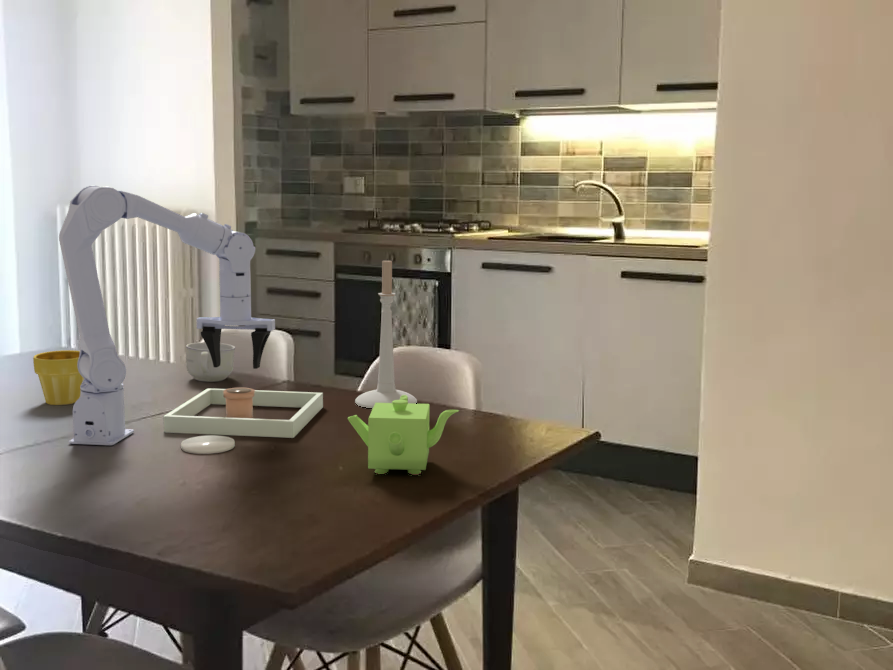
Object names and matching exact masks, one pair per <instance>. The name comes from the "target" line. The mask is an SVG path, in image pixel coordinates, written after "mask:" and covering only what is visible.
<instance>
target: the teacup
mask: <svg viewBox="0 0 893 670" xmlns="http://www.w3.org/2000/svg"><path fill="white" fill-rule="evenodd" d="M185 348H186V353H185V354H186V357H185V359H186V361H185V363H186V364H185V365H186V370H187V372H188V374H189V375H190V376H191V377H192V378H193V379H194V380H196V381H200V382H209V383H210V382H222V381H224V380H225V379H226V378H228V376H231V375H232V372H233V370H234V362H235V349H236V346H235V345H232V344H230V343H229V344H228V343H221V342H220V356H221V364H220V366H219V367H213V362H212V358H211V355H210V352H209V349H208V347H207V345H206V343H205V341H204V342H192V343H188V344H186V345H185Z"/></svg>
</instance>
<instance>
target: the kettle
mask: <svg viewBox="0 0 893 670" xmlns="http://www.w3.org/2000/svg"><path fill="white" fill-rule="evenodd" d="M459 411H460V410H459V409H446V410H444V411H442V412H441V413H440V414H439V417H438V418H437V422H436V423H435V425H434V426H433V428H431V429H430V404H429V403H417V404H412V403H408V396H407V395H402V396H401V397H400V400H394V401H392V403H375V405H374V407H373V409H371V412H370V414H369V416H368V418H367V419H368V420H367V421H368V424H366V422H364V421H363V420H362V419H361V418H360V417H359V416H358V415H357V414H354V415H351V416H348V417H347V420H348V422H349V423H350V424H351V426H352V427H353V429H354V430H355V432H357V434H358V436H360V437H359V438H361V439H362V441H363V442H364V443H365V445H366V446H367V449H368V450H367V468H368V469H370V470H372V469H373V470H374V472H375V473H378V474H384V473H387V472H388V473H389V470H404V471H405V470H407V474H408V473H411V474H419V473H421V472H422V471H426V469H427V464H428V458H429V454H430V448H432V447H434V446H435V445H436V444H438V442H439V441H440V439H441V437H442V435H443V432H444V428H445V426H446V423H447V421H448V419H449V418H450V417H451V416H453V414H456V413H458V412H459ZM374 472H373V473H374ZM388 473H387V474H388Z"/></svg>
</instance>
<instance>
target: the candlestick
mask: <svg viewBox="0 0 893 670" xmlns="http://www.w3.org/2000/svg"><path fill="white" fill-rule="evenodd" d="M381 271H382V272H381V277H382V278H381V292H378V293H377V294H378V296H379V297H380V299H379V301H380V303H381V304H382V310H381V321H380V322H381V323H380V338H379V339H380V340H379V341H380V342H379V359H378V360H379V361H378V376H377V377H378V378H377V385H376V386H377V387H376V389H373V390H369V391H366V392H362V393H361V394H359V395H358V396H357V397H356V398H355V400H354V404H355V403H356V404H357V405H358V407H359V406H361V407H360V408H362V407H366V408H372V409H373V407H374V405H375V403H392V401H394V400H400V397H401V396H402V395H407V396H408V403H412V404H416V403H417V404H418V399H417V398H416V397H415V396H414V395H413V394H411V393H409V392H406V391H404V390H400V389H396V388H397V387H396V385H395V383H396V382H395V381H396V379H395V364H394V363H395V361H394V359H395V358H394V340H393V339H394V337H393V336H394V335H393V317H392V315H393V311H392V309H391V307H392V303H394V296H395V295H396V293H395V292H393V261H392V260H389V259H388V258H387V259H386V260H382V261H381ZM356 404H355V405H356ZM357 405H356V406H357ZM366 408H365V409H366ZM372 409H371V410H372Z"/></svg>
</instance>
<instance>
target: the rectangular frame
mask: <svg viewBox="0 0 893 670" xmlns="http://www.w3.org/2000/svg"><path fill="white" fill-rule="evenodd" d="M226 389H227V388H206V389H205V390H203V391H201V392H199V393H198V394H196V395H195V396H192V398H190V399H188V400H187V401H186V402H184V403H182V404H181V405H179V406H177V407H176V408H174V409H173V410H171V411H170V412H168V413H166V414H165V415H163V433H167V434H169V433H172V434H173V433H174V434H193V435H195V434H197V435H215V436H239V437H240V436H241V437H244V436H245V437H266V438H289V439H290V438H291V439H293V438H294V439H295V437H296V436H297V435H298V434H299V433H300V432H301V431H302V429H304V427H305V426H307V424H308V423H309V422H310V421H311V420H312V419H313V418H314V417H315V416H316V415H317V414H319V412H320V411H321V410H322V409H323V408H324V399H323V398H324V392H317V391H316V392H315V391H314V392H312V391H311V392H310V391H309V392H308V391H286V390H284V391H283V390H263V389H262V390H261V389H260V390H258V389H254V390H255V396H254V397H253V406H255V407H258V406H259V407H281V408H300V409H299V410H298V411H297V412H296V413H295V414H294V415H293V416H292V417H291V418H290V419H272V418H254V417H253V418H228V417H226V416H225V417H224V416H223V417H222V416H201V415H198V413H200V412H202V411H203V410H205V409H206V408H207V407H209V406H210V405H225V406H226V398H224V397H223V391H224V390H226ZM197 415H198V416H197Z"/></svg>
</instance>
